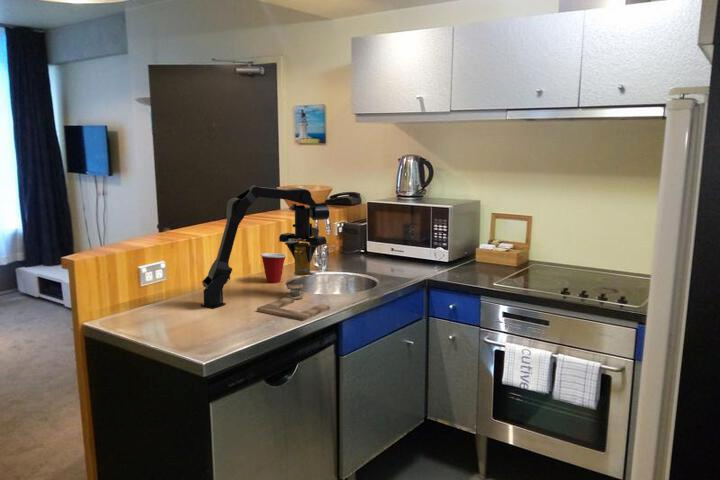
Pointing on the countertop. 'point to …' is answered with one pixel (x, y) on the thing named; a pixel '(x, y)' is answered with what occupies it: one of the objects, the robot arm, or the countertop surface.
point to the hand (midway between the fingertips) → (302, 261)
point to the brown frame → (276, 310)
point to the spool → (295, 291)
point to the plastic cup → (273, 266)
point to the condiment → (302, 260)
